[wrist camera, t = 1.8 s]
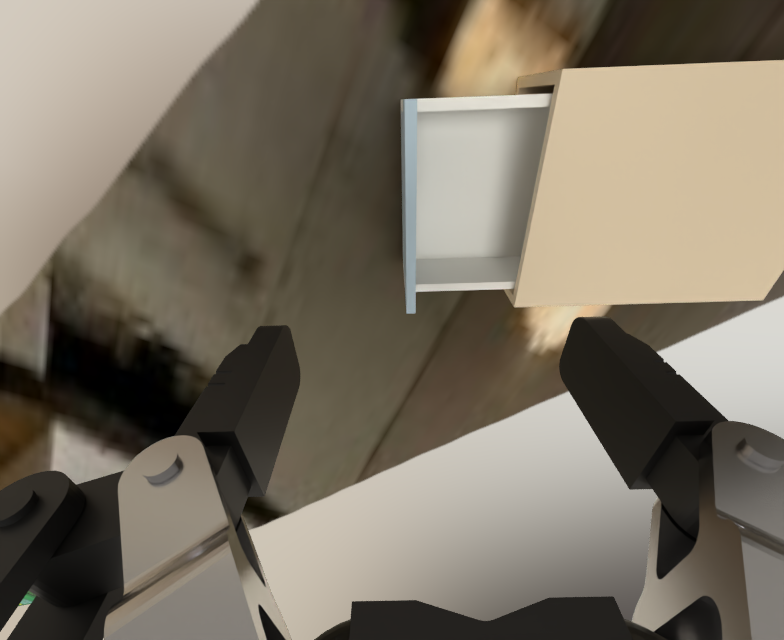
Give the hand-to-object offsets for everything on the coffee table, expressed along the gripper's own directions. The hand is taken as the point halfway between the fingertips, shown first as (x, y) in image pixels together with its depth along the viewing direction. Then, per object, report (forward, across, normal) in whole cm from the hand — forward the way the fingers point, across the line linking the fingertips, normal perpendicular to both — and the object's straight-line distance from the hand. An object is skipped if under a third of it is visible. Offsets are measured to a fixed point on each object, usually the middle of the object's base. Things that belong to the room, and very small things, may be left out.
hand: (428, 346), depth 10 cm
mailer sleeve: (+20, -17, 0) cm, 26 cm away
